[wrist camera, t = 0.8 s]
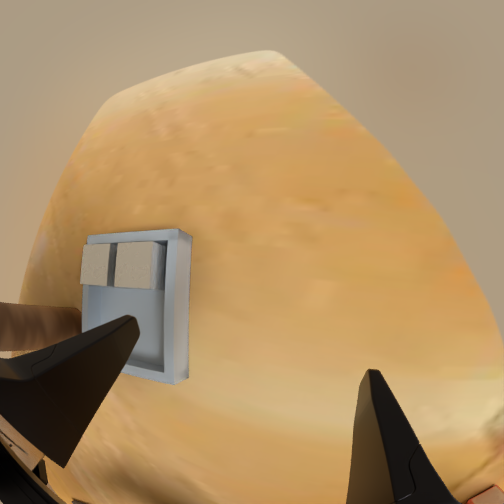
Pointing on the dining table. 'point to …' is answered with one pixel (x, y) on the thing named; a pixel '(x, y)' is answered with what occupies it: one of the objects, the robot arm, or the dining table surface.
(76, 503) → the picture frame
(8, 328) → the walnut dowel
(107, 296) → the parts tray
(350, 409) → the dining table surface
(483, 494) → the cracker box
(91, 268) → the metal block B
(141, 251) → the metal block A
